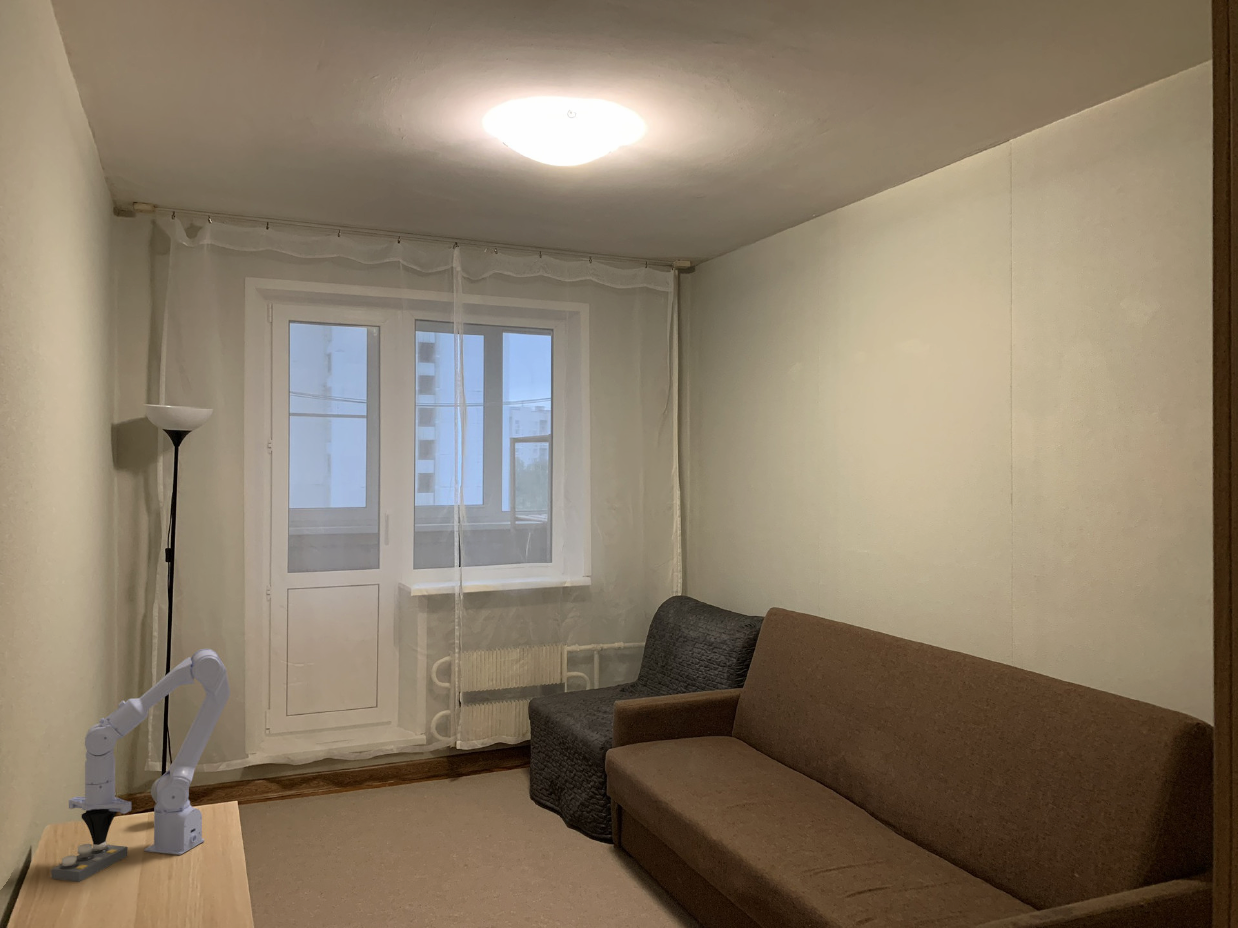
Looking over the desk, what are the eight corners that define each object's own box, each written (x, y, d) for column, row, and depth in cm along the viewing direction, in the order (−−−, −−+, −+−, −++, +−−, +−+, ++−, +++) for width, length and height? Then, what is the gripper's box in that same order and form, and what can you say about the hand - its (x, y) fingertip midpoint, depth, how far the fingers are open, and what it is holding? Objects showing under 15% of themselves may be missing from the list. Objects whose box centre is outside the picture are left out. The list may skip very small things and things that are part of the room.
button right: (109, 846, 194) (109, 840, 194) (99, 851, 191) (99, 845, 191) (99, 845, 194) (99, 839, 194) (89, 850, 192) (89, 844, 192)
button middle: (94, 849, 190) (94, 844, 190) (84, 854, 187) (84, 849, 187) (84, 848, 190) (84, 843, 191) (74, 853, 188) (74, 848, 188)
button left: (79, 861, 186) (79, 855, 186) (69, 866, 183) (69, 861, 184) (69, 860, 187) (69, 854, 187) (58, 865, 184) (58, 860, 184)
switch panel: (127, 855, 195) (127, 845, 195) (79, 881, 182) (79, 871, 182) (100, 853, 196) (100, 843, 196) (51, 878, 184) (51, 867, 184)
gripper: (57, 784, 191) (56, 847, 191) (113, 789, 188) (113, 853, 187) (83, 773, 198) (83, 834, 197) (138, 778, 195) (138, 840, 194)
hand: (99, 843), depth 193 cm, fingers closed, pressing on button right
